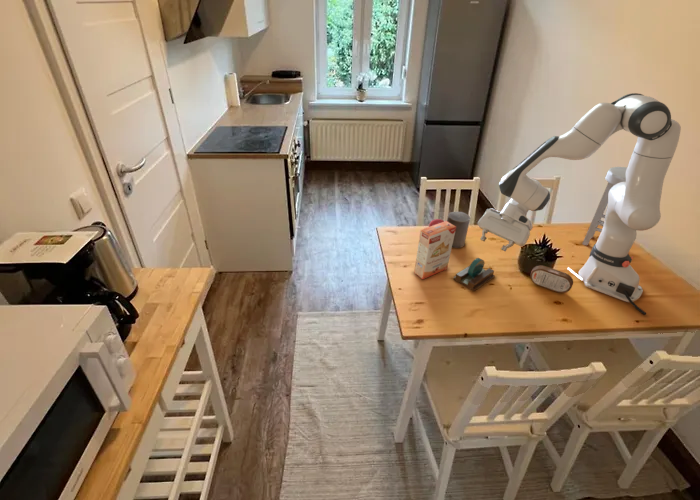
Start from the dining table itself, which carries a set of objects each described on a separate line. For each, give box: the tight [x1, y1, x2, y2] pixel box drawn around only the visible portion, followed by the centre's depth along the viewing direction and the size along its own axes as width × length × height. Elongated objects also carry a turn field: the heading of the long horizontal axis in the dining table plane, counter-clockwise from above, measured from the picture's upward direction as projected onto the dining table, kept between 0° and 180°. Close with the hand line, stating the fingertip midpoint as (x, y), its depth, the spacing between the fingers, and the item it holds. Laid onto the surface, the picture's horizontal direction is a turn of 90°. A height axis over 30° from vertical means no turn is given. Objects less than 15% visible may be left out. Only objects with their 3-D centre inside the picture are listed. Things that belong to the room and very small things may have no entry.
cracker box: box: [413, 220, 456, 280], centre depth 153 cm, size 14×6×21 cm, turn 123°
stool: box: [581, 166, 628, 246], centre depth 170 cm, size 16×16×35 cm
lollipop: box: [428, 218, 445, 227], centre depth 169 cm, size 8×8×15 cm
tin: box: [529, 265, 574, 294], centre depth 149 cm, size 15×3×8 cm, turn 56°
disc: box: [468, 257, 485, 278], centre depth 153 cm, size 2×8×8 cm, turn 130°
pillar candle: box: [446, 211, 471, 249], centre depth 174 cm, size 10×10×15 cm
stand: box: [452, 265, 495, 292], centre depth 155 cm, size 10×14×3 cm
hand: (492, 245), depth 152 cm, fingers open, 8 cm apart
